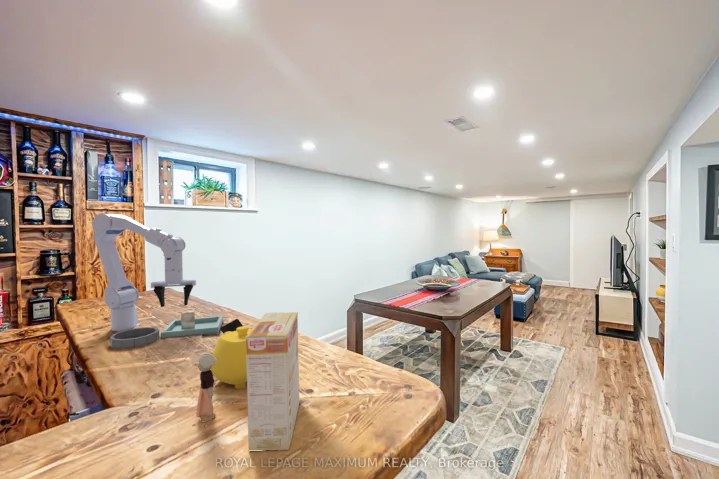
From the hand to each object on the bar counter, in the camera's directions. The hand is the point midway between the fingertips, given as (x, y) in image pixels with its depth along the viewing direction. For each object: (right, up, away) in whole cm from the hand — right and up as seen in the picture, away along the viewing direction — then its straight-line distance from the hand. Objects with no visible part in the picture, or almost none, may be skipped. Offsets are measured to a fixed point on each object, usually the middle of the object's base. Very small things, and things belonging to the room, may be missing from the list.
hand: (174, 305), depth 116 cm
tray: (+8, -9, 0) cm, 12 cm away
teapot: (+42, -10, -40) cm, 58 cm away
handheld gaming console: (+29, -10, -10) cm, 32 cm away
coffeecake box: (+54, -10, -58) cm, 80 cm away
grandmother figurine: (+39, -11, -55) cm, 69 cm away
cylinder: (+6, -8, -1) cm, 10 cm away
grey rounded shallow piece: (-5, -10, -14) cm, 17 cm away
